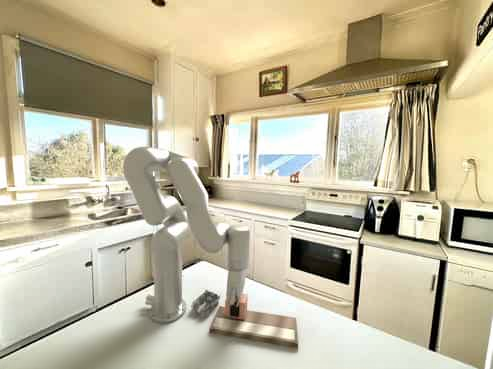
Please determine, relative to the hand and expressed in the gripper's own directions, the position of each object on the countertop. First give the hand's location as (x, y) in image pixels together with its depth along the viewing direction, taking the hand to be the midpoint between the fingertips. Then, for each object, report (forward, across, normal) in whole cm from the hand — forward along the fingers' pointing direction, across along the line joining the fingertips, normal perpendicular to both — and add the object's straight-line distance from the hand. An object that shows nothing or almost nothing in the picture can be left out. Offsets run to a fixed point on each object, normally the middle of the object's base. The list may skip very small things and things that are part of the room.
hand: (236, 309), depth 76 cm
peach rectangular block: (+1, 0, 0) cm, 1 cm away
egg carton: (+3, -3, -12) cm, 13 cm away
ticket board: (+3, +3, +7) cm, 8 cm away
